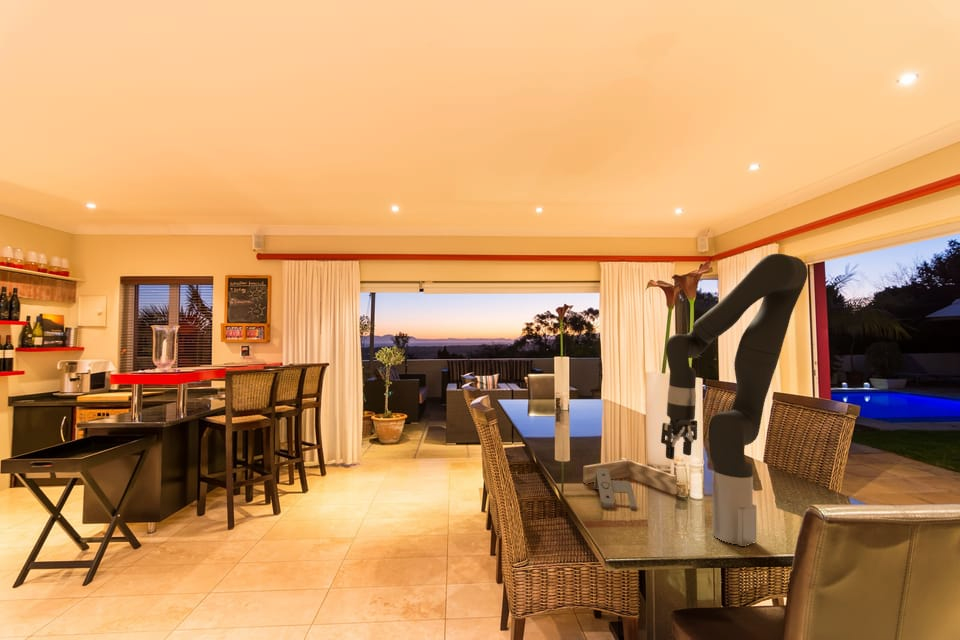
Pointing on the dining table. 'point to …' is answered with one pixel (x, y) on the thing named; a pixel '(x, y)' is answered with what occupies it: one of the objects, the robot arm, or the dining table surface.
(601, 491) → the bracket
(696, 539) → the dining table surface
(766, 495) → the dining table surface
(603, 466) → the wooden corner joint
